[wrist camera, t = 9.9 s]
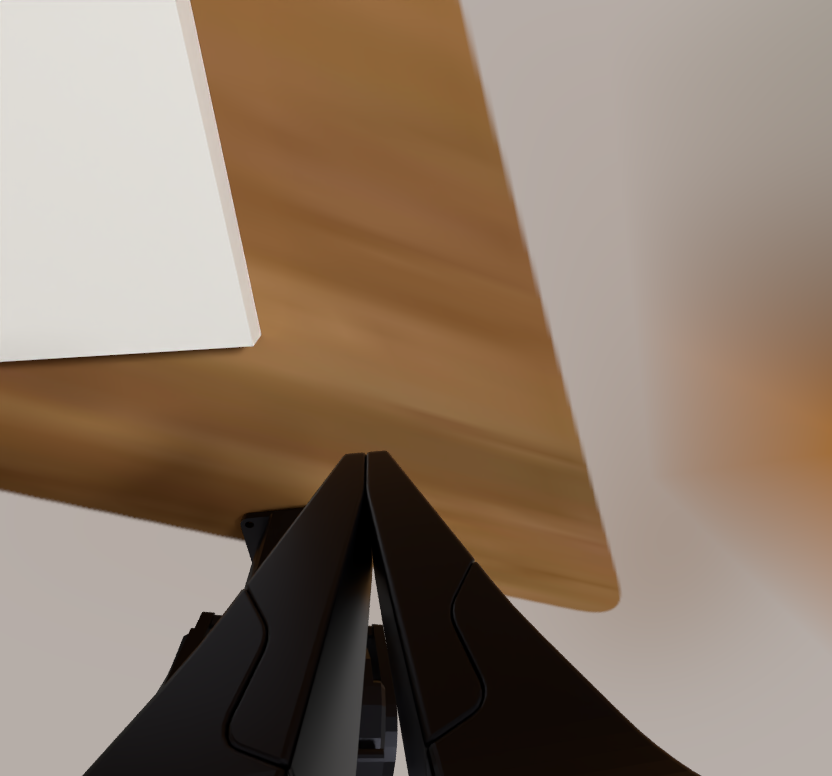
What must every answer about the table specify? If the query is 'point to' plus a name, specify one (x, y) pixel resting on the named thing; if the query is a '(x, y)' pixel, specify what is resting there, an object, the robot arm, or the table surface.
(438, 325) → the table surface
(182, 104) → the plate
